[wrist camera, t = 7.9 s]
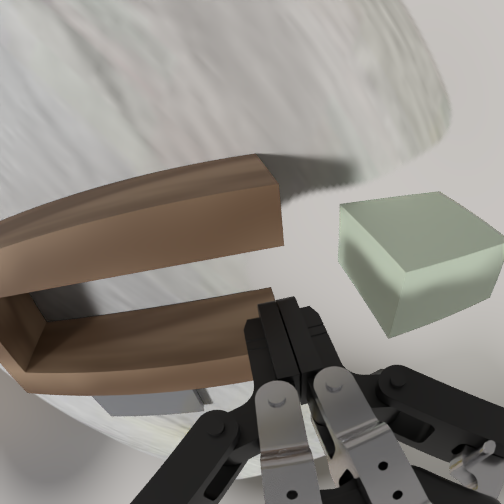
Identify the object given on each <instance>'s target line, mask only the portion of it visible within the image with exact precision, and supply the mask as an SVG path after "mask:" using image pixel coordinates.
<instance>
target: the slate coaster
mask: <svg viewBox="0 0 504 504" xmlns="http://www.w3.org/2000/svg"><path fill="white" fill-rule="evenodd" d="M92 397H93V398H94V399H95V400H96V401H97V402H98V403H99V404H100V405H101V406H102V407H103V408H104V409H105V410H106V411H107V412H108V413H109V414H110V415H111V416H149V415H167V414H180V413H190V412H200V411H204V404H203V402H202V400H201V398H200V396H199V395H198V393H197V391H196V389H193V390H184V391H175V392H164V393H151V394H135V395H109V396H92Z"/></svg>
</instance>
